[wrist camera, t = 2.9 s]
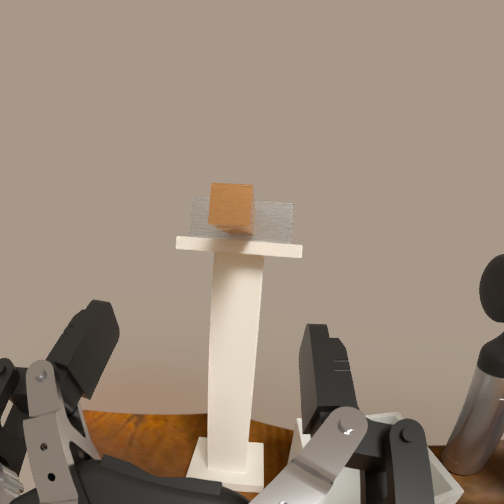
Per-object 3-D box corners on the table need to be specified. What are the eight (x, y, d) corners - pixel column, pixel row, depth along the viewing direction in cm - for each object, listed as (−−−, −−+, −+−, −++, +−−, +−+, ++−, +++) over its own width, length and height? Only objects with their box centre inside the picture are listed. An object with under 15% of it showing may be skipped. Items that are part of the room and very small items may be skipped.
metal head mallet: (285, 245, 33) (287, 211, 33) (308, 242, 17) (311, 179, 17) (201, 239, 34) (204, 206, 34) (152, 231, 18) (158, 171, 18)
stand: (268, 450, 36) (291, 246, 36) (270, 492, 26) (303, 245, 26) (193, 442, 37) (197, 239, 36) (179, 482, 27) (175, 235, 26)
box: (379, 460, 31) (398, 411, 31) (423, 540, 12) (464, 491, 12) (286, 468, 32) (296, 418, 32) (297, 569, 13) (319, 531, 13)
